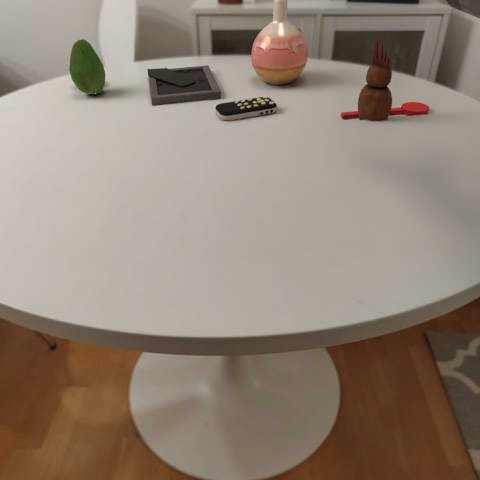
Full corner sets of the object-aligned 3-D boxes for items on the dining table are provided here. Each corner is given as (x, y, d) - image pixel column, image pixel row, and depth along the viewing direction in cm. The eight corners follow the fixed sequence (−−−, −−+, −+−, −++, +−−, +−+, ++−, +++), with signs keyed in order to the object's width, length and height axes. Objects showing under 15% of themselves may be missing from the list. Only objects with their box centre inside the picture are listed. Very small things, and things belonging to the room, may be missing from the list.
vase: (240, 81, 115) (237, 0, 103) (278, 69, 121) (279, -9, 110) (279, 94, 107) (281, 7, 95) (317, 80, 114) (323, -3, 102)
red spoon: (421, 105, 99) (422, 100, 98) (432, 115, 95) (433, 110, 94) (337, 112, 97) (338, 107, 97) (345, 122, 93) (346, 117, 93)
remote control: (214, 112, 100) (213, 103, 98) (268, 103, 103) (268, 94, 101) (222, 122, 95) (222, 112, 94) (278, 113, 98) (279, 103, 97)
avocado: (100, 86, 115) (89, 33, 107) (114, 94, 111) (103, 39, 103) (70, 94, 112) (56, 39, 104) (83, 102, 107) (69, 46, 99)
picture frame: (148, 77, 120) (152, 105, 104) (147, 69, 118) (150, 96, 103) (208, 71, 122) (221, 98, 106) (208, 63, 120) (220, 89, 105)
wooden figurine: (351, 119, 94) (361, 39, 85) (377, 116, 95) (391, 36, 85) (363, 132, 89) (376, 48, 80) (391, 129, 90) (407, 46, 80)
